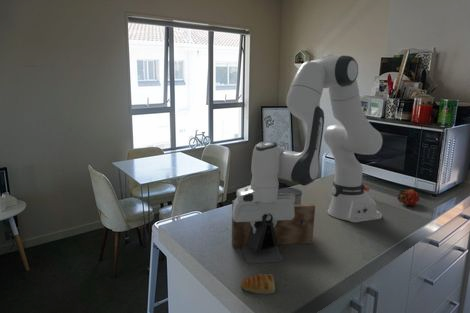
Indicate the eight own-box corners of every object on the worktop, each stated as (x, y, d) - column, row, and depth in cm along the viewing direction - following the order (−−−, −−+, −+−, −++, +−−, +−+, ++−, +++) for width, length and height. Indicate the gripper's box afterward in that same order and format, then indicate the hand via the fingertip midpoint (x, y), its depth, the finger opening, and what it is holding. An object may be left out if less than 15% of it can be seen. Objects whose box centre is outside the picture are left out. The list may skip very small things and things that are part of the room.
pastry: (241, 296, 92) (242, 283, 91) (240, 281, 98) (240, 269, 98) (276, 295, 92) (276, 282, 92) (272, 281, 99) (272, 269, 98)
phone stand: (256, 252, 108) (257, 217, 106) (245, 244, 113) (246, 211, 111) (278, 246, 113) (280, 212, 110) (267, 238, 118) (269, 206, 115)
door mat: (275, 245, 120) (275, 244, 120) (284, 261, 109) (284, 260, 109) (241, 247, 118) (241, 245, 118) (247, 263, 107) (247, 262, 107)
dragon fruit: (399, 210, 159) (409, 208, 167) (417, 204, 153) (426, 202, 161) (391, 193, 161) (401, 192, 169) (408, 186, 156) (418, 185, 164)
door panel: (309, 238, 125) (312, 197, 122) (314, 245, 120) (317, 202, 117) (231, 242, 121) (232, 200, 117) (233, 249, 116) (234, 205, 113)
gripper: (292, 188, 113) (290, 227, 117) (231, 190, 110) (231, 229, 114) (298, 194, 107) (296, 235, 110) (234, 196, 104) (233, 238, 107)
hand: (262, 232), depth 112 cm, fingers closed on phone stand, 4 cm apart
